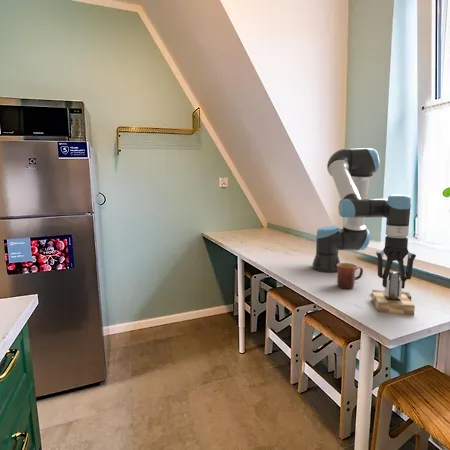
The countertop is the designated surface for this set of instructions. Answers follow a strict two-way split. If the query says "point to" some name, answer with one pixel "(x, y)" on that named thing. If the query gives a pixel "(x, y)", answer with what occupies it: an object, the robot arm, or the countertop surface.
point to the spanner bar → (401, 293)
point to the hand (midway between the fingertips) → (392, 295)
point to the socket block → (392, 304)
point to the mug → (347, 275)
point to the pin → (393, 285)
